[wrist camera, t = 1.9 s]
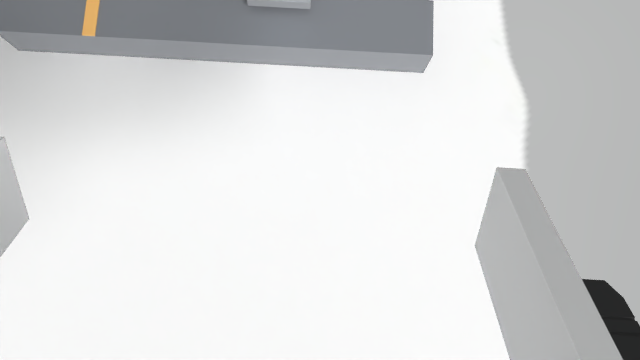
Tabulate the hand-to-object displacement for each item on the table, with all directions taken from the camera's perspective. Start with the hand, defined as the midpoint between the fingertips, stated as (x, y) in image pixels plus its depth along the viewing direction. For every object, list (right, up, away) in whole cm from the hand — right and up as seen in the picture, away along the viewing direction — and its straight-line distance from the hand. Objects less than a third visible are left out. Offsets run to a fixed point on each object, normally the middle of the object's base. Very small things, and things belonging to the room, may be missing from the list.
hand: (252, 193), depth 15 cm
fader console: (-5, +13, +24) cm, 28 cm away
